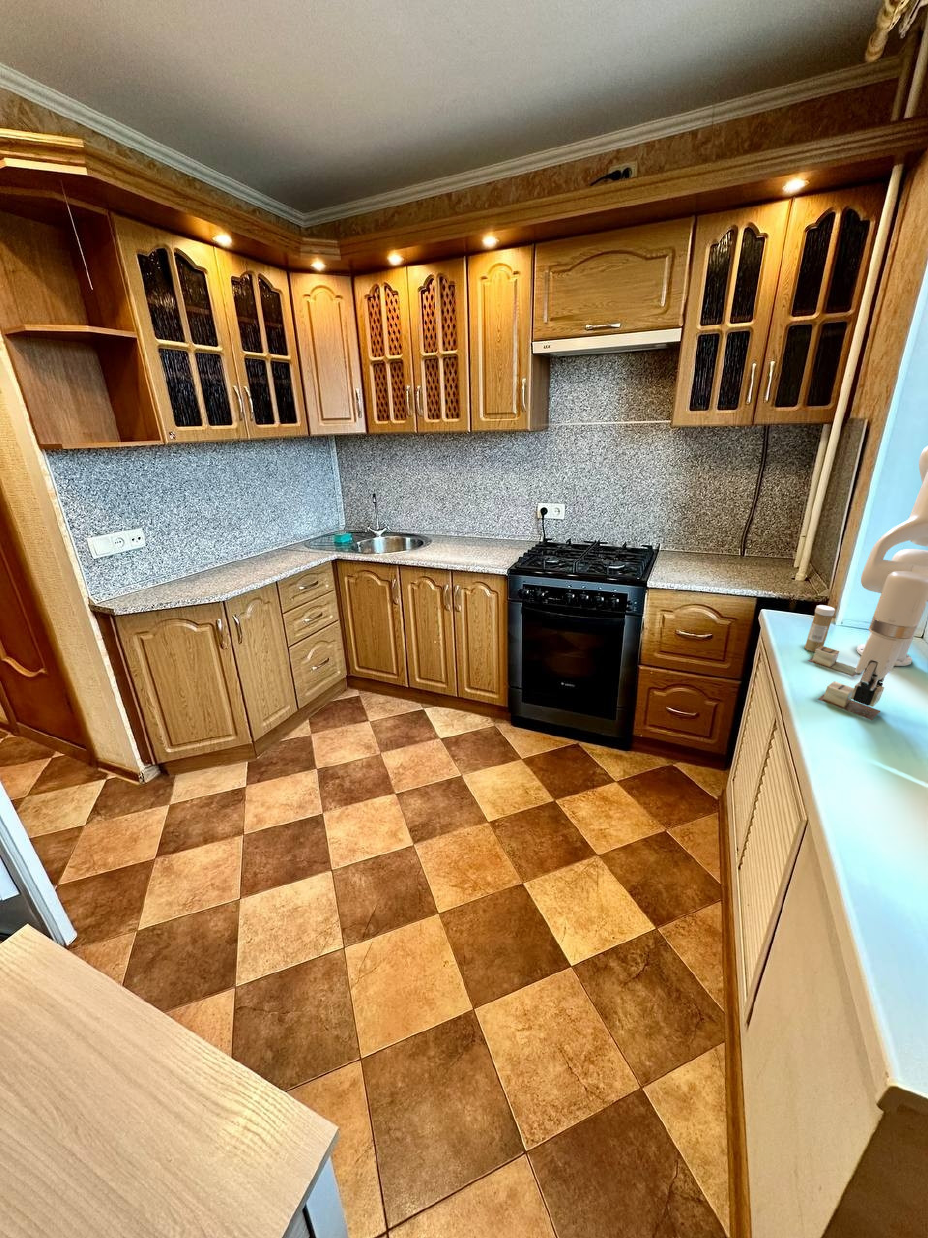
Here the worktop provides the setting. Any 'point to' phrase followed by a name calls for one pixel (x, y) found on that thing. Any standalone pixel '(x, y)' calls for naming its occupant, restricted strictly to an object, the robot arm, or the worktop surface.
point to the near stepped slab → (846, 700)
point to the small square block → (876, 696)
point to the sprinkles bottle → (819, 627)
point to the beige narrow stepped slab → (831, 660)
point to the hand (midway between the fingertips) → (865, 698)
